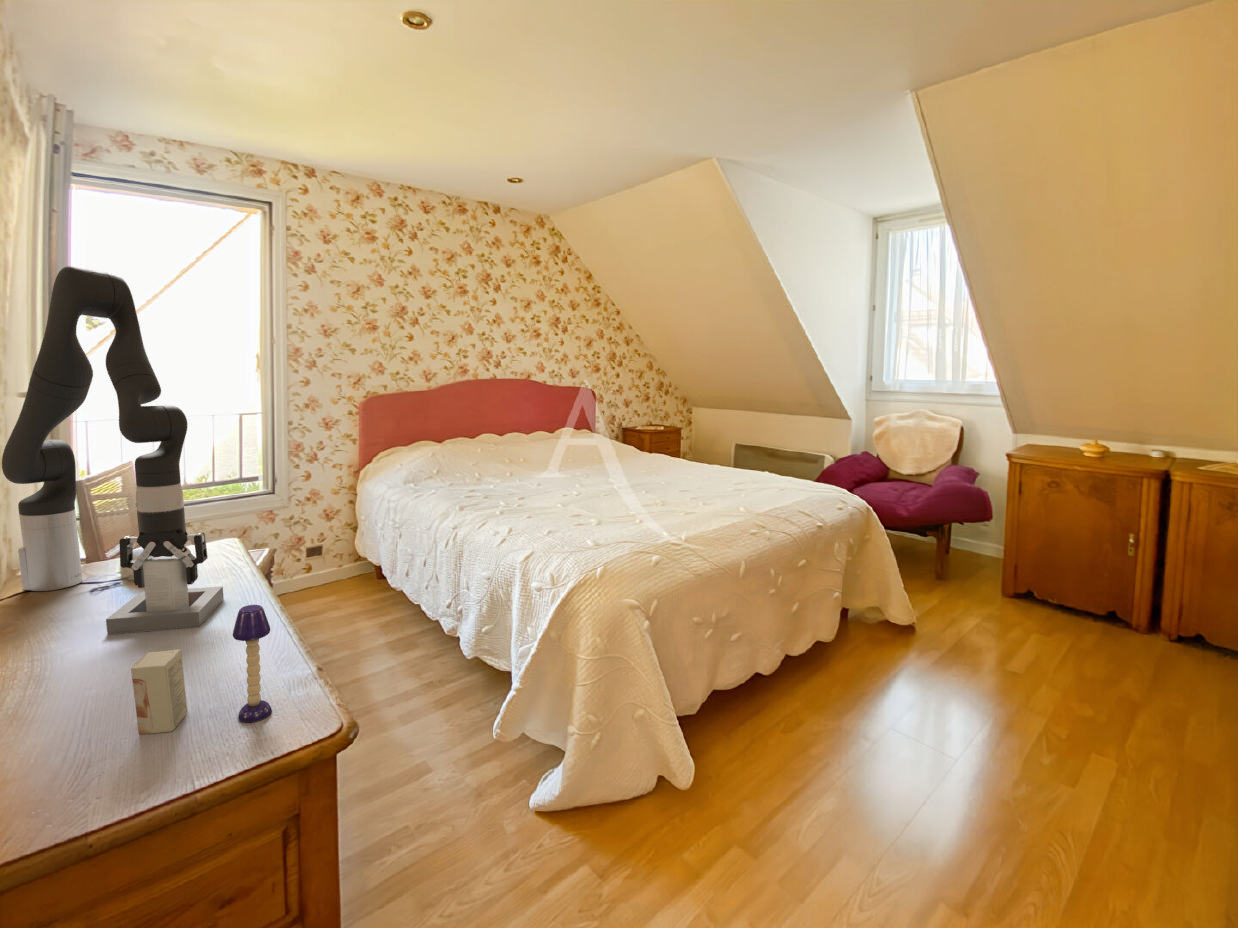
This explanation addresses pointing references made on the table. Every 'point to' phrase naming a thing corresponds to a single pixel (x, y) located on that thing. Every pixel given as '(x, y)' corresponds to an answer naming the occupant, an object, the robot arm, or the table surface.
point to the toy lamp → (252, 659)
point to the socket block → (165, 613)
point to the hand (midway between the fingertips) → (167, 585)
